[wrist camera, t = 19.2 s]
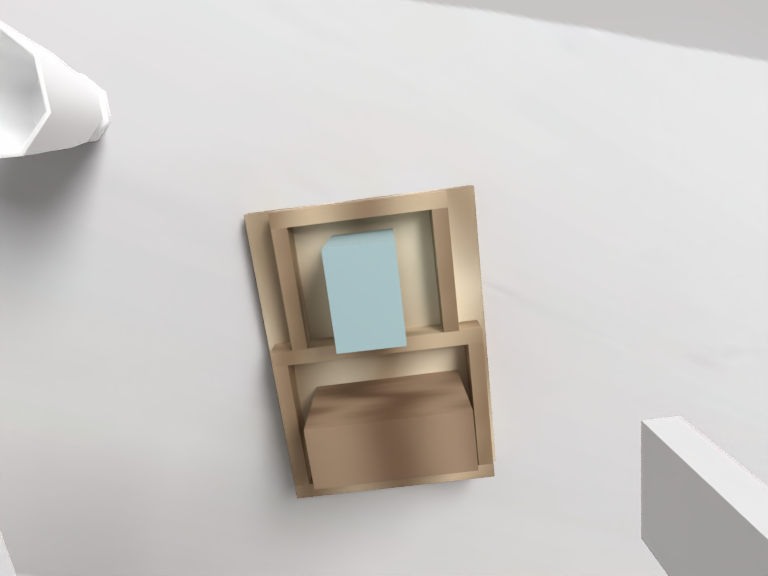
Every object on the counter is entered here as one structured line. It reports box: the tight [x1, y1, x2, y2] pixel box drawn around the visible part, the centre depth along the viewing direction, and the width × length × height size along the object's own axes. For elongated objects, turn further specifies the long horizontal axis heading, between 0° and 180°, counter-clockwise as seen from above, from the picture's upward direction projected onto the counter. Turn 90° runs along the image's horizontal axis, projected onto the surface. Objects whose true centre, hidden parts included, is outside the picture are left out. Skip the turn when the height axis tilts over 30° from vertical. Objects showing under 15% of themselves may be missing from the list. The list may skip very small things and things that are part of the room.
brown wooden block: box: [304, 370, 478, 489], centre depth 32 cm, size 10×4×6 cm, turn 97°
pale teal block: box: [321, 228, 407, 354], centre depth 30 cm, size 4×6×6 cm, turn 7°
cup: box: [0, 21, 112, 158], centre depth 27 cm, size 7×10×8 cm
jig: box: [244, 185, 496, 498], centre depth 34 cm, size 15×20×3 cm
